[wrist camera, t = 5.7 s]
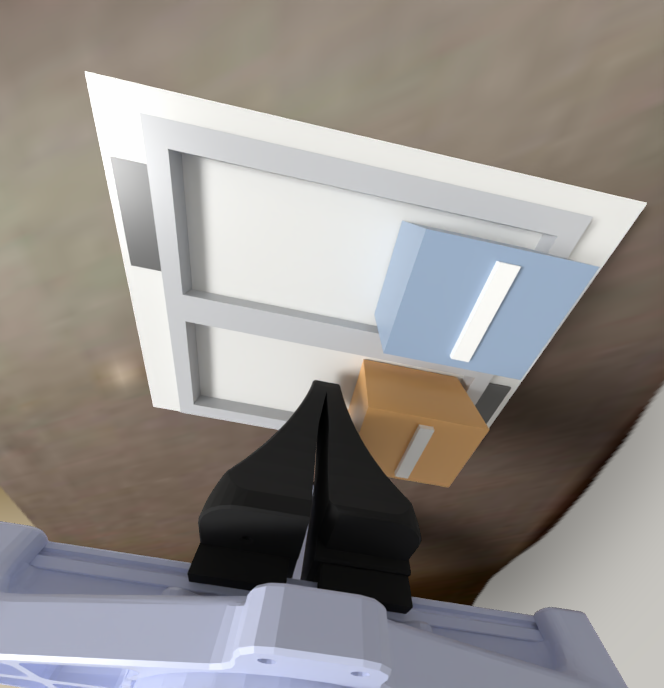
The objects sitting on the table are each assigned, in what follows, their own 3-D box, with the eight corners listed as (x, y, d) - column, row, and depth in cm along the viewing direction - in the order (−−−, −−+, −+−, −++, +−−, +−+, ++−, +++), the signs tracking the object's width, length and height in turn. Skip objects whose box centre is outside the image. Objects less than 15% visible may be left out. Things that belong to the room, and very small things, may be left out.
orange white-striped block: (428, 430, 15) (450, 491, 12) (346, 415, 15) (346, 473, 12) (457, 377, 13) (492, 433, 10) (363, 359, 13) (368, 410, 10)
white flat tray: (458, 446, 18) (470, 473, 16) (165, 393, 17) (144, 416, 15) (617, 202, 10) (671, 203, 9) (113, 85, 9) (60, 58, 8)
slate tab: (477, 335, 12) (524, 383, 9) (374, 314, 12) (384, 356, 9) (523, 247, 10) (605, 268, 7) (402, 220, 10) (428, 229, 7)
